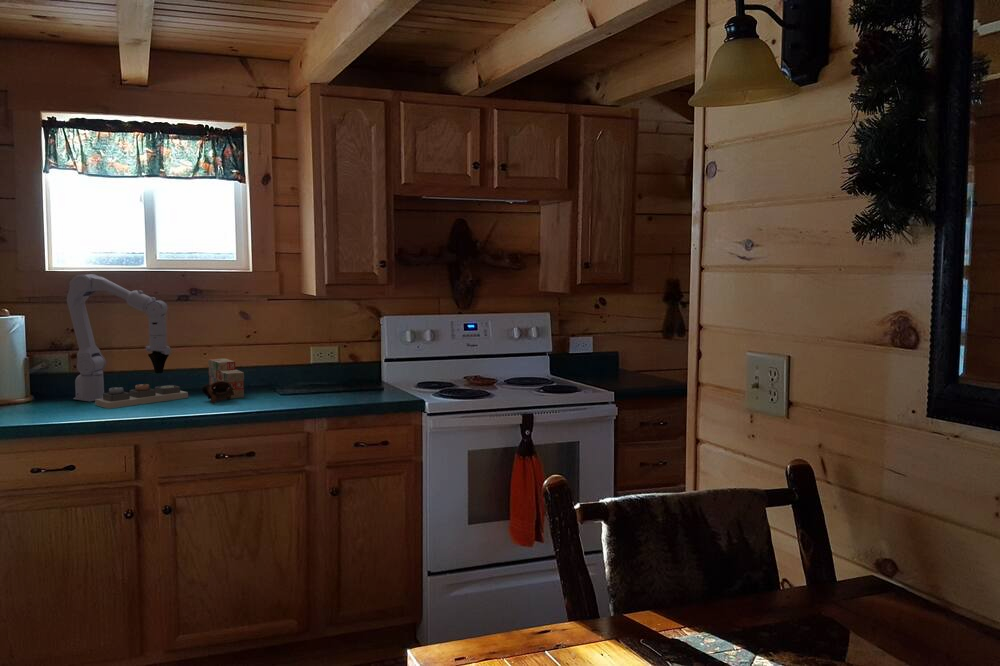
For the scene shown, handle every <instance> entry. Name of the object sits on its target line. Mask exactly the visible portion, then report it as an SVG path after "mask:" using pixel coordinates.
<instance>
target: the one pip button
mask: <svg viewBox="0 0 1000 666" xmlns="http://www.w3.org/2000/svg"><path fill="white" fill-rule="evenodd" d="M161 386H162V387H161V388H163V389H165V388H173V387H174V386H166V385H161Z"/></svg>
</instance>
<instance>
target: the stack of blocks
mask: <svg viewBox="0 0 1000 666" xmlns="http://www.w3.org/2000/svg"><path fill="white" fill-rule="evenodd" d="M207 364H208V376H209V377H208V380H209V381H208V382H209V385H211V384H212V383H214V382H217V381H225V382H228V383H230V384H231V386H232V388H233V389H234V390H232V391H233V392H234V395H231V399H238V398H245V382H244V381H245V373H244V371H241V370H239V369H236V361H235V360H231V359H229V358H210V359H208V362H207ZM214 389H215V387H214ZM228 389H229V388H227V390H228ZM231 399H230V400H231Z"/></svg>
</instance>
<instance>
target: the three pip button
mask: <svg viewBox="0 0 1000 666" xmlns="http://www.w3.org/2000/svg"><path fill="white" fill-rule="evenodd" d="M149 388H150V384H148V383H143V384H142V383H141V384H140V383H139V384H136V385H135V389H136V390H139V391H141V390H149Z"/></svg>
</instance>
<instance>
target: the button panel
mask: <svg viewBox="0 0 1000 666" xmlns="http://www.w3.org/2000/svg"><path fill="white" fill-rule="evenodd" d="M162 386H163V385H159V386H154V388H150V387H149V390H141V391H139V390H136V389H130V390H129V392H126V391H123V393H119V394H110V393H109V392H104V393H103V398H101V399H95V401H94V405H95V406H97V407H101V408H104V409H108V410H110V409H117V408H123V407H124V408H125V407H133V406H139V405H146V404H152V403H159V402H167V401H174V400H181V399H183V400H184V399H188V398H189V392H188V391H183V390H181V386H178V385H174V384H168V385H165V386H174V387H173V388H165V389H163V388H161V387H162Z"/></svg>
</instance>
